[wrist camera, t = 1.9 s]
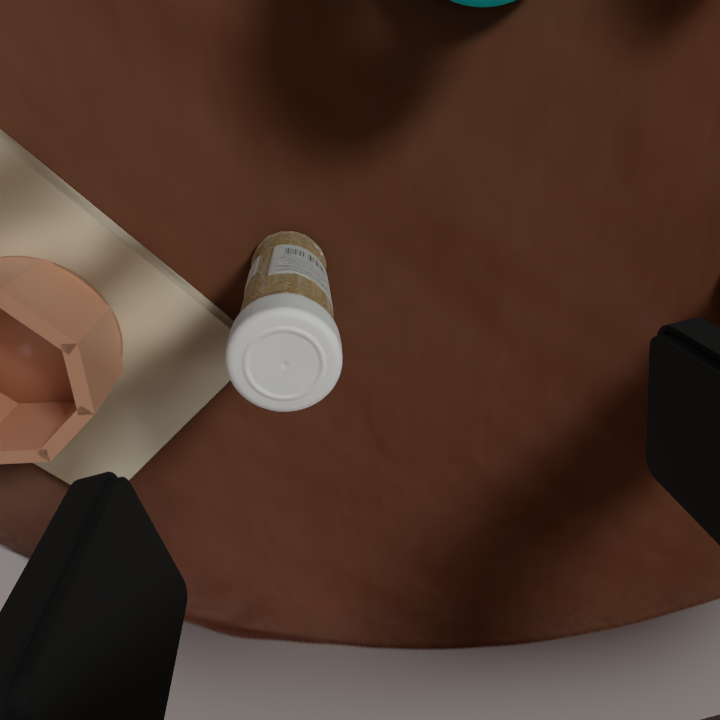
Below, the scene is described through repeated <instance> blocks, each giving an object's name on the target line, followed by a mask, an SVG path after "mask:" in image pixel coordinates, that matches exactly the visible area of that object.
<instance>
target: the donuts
mask: <svg viewBox="0 0 720 720" xmlns="http://www.w3.org/2000/svg"><path fill="white" fill-rule="evenodd" d="M451 1H453V2H456V3H459V4H462V5H466V6H472V7H493V6H499V5H504V4H507V3H510V2H513V1H516V0H451Z"/></svg>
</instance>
